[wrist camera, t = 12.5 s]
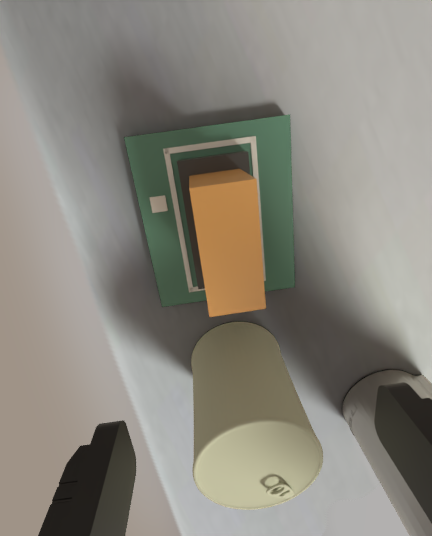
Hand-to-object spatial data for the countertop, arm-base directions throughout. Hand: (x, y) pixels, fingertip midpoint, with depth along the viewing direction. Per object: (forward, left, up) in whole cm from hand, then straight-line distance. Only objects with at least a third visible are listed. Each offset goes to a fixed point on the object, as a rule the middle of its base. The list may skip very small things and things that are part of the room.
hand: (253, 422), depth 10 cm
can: (-1, +13, -19) cm, 23 cm away
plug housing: (-1, -2, -16) cm, 16 cm away
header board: (-1, -2, -19) cm, 19 cm away
